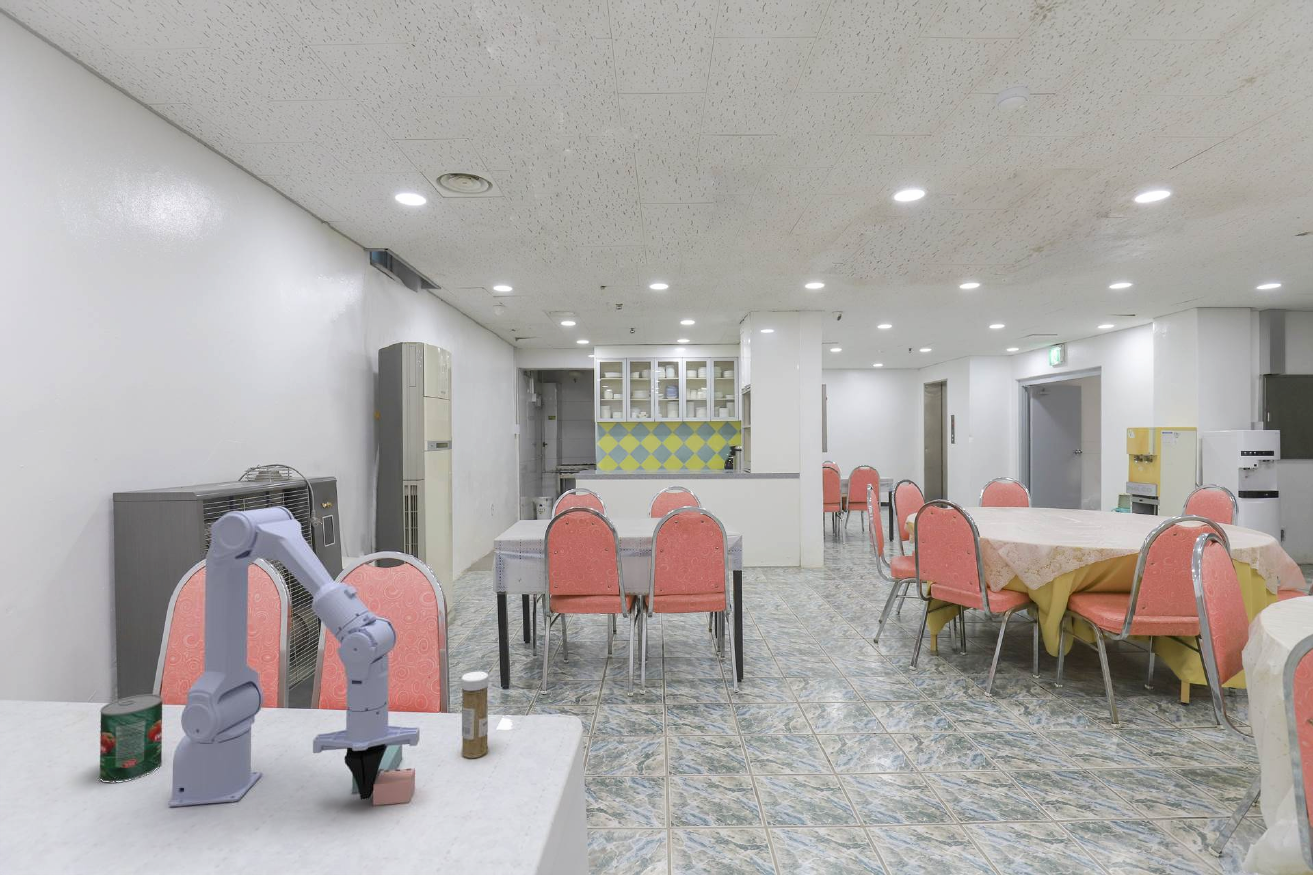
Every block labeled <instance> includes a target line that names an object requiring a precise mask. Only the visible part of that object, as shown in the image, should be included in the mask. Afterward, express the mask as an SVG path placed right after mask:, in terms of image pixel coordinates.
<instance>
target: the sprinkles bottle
mask: <svg viewBox="0 0 1313 875" xmlns="http://www.w3.org/2000/svg"><path fill="white" fill-rule="evenodd" d="M489 680H490V679H489V673H487V672H485V671H472V672H471V671H470V672H468V673H465V674H463V675H462V676H461V682H460V683H461V684H460V685H461V686H460V687H461V691H462V692H461V694H462V696H461V698H462V701H461V703H462V704H461V737H462V739H461V740H462V741H461V742H462V746H461V747H462V750H461V755H462V756H463V757H464V758H468V759H477V758H481V757H483V756H485V755H486V754H487V753H488V751H489V745H488V743H489V742H488V739H489V738H488V732H489V728H488V727H489V723H488V722H489V721H488V719H489V718H488V717H489V716H488V714H489V712H488V709H489V708H488V707H489V705H488V687H489V682H490V681H489Z"/></svg>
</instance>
